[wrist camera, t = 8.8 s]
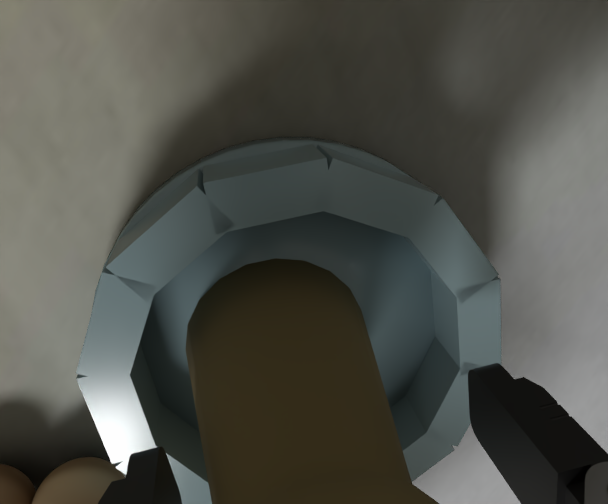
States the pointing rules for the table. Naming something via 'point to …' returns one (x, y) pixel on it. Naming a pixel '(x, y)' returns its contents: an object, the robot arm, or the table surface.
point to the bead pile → (60, 483)
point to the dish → (296, 246)
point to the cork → (292, 392)
